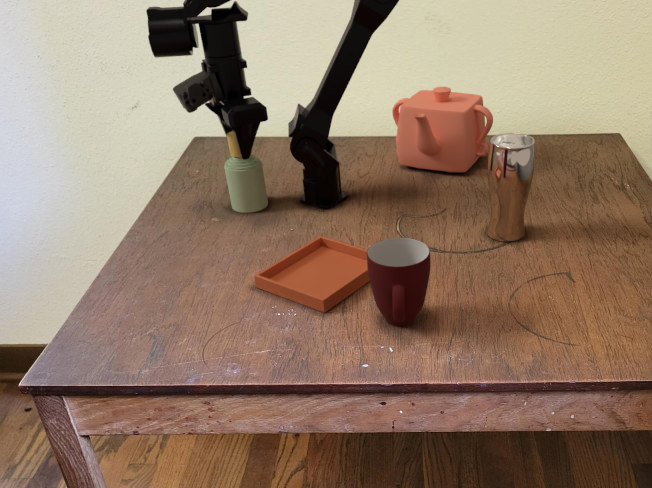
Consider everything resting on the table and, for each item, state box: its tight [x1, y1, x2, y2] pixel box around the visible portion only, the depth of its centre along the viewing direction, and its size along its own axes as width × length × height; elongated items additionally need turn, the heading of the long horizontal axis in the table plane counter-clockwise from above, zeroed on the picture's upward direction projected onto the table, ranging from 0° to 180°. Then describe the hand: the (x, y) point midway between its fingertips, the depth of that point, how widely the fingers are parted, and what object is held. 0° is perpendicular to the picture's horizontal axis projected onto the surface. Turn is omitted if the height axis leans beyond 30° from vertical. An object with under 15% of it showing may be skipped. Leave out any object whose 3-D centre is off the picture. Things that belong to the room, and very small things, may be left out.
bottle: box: [223, 153, 269, 214], centre depth 123 cm, size 6×6×12 cm
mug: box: [367, 237, 431, 327], centre depth 92 cm, size 11×8×10 cm
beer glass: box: [486, 132, 536, 243], centre depth 110 cm, size 7×7×15 cm
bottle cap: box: [226, 131, 253, 157], centre depth 120 cm, size 4×4×3 cm
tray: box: [253, 235, 370, 313], centre depth 105 cm, size 15×13×2 cm
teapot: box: [391, 86, 494, 174], centre depth 133 cm, size 20×19×14 cm
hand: (240, 153), depth 121 cm, fingers open, 6 cm apart
